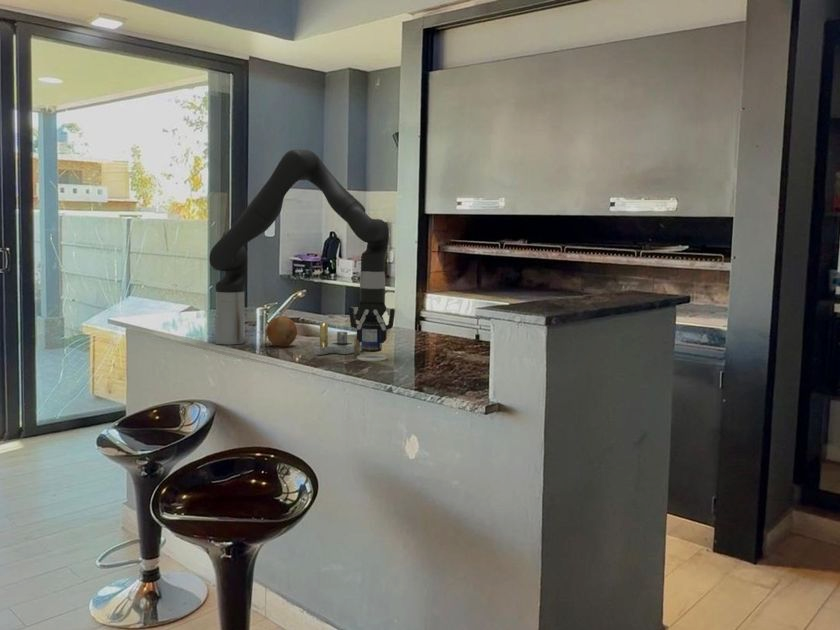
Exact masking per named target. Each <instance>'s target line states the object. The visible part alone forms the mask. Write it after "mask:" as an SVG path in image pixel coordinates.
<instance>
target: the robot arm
mask: <svg viewBox="0 0 840 630" xmlns="http://www.w3.org/2000/svg"><path fill="white" fill-rule="evenodd" d="M298 181H308V182H310V183H311V184H313V185H314V186H316V187H317V188H318V189H319V190H320V191H321V192H322V194H323V195H324V197H325V199H326V201H327V203H328V205H329V206H330V207H331V209H332V210H333V211H334V212H335V213H336V214H337V215H338V216H339V217H340V218H341V219H342V220H343V221H344V222H346V223H347V224H348V226H349V227H350V229H351V230H352V231H353V233H354V234H355V236H356V237H357V238H359V240H361V241H363V243H365V244H366V243H367V244H366V249H365V251H364V252H362V253H361V258H360V276H359V305H358V306H355V307H354V306H351V307H349V309H348V312H349V313H348V315H349V320H350V327H351V328H354V329H355V330H356V336H357V340H359V342H361V343H362V324H363V323H364V322H365V317H364V316H365V315H376V316H377V320H378V322H379V324H380V326H381V328H382V331H381V343H382V344H384V343H385V342H386V341H387V338H388V337H387V334H388V330H391V329H392V328H394V321H395V315H396V309H395V308H394V307H393V308H390V307H387V306H386V274H385V271H386V270H385V266H386V265H385V263H386V262H385V256H386V253H387V248H388V243H389V240H390V239H389V238H390V231H389V227H388V224H387V223H386V222H385V220H382V219H380V218H378V219H377V218H371V217H370V216H369V215H368V214H367V213H366V208H365V206H364V205H363V204H362V203H361V202H360V201H359V200H358V199H356V198H355V197H354V195H352V194H351V193H350V192H349V191H348V190H347V189H346V188H345V187H344V186H343V185H342V184H341V183H340V181H338V180H337V179H336V177H335V176H334V175H333V174H332V173H331V171H330V170H329V169H328V168H327V166H326V165H325V164H324V162H323V161H322V160H321V159H320V157H319V156H318V155H317V154H316V153H315V152H314V151H312V150H309V149H290V150H289V151H287V152H286V153H285V154H284V155H283V156H282V158H281V159H280V161H279V162H278V164H277V166H276V168H275V169H274V170H273V172H272V174H271V175H270V178H268V180H267V181H266V183H264V185H263V186H262V188H261V189H260V191H259V192H258V193H257V194H256V195H255V196H254V198H253V199H252V200H251V202H250V203H249V204H248V206H247V207H246V208H245V210H244V211H242V214H241V215H240V216H239V217H238V218H237V220H236V221H235V222H234V224H233V225H232V227H230V229H229V230H228V231H227V232H226V233H225V234H223V236H222V237H221V238H220V239H219V240H218V241H217V242H216V243H215V244H214V245H213V247H212V248H211V250H210V253H209V257H208V258H209V264H210V266H211V267H212V269H214V270H216V271H219V272H225V273H224V276H223V278H221V279H220V280H219V281H216V283H215V315H214V317H215V319H214V320H215V321H214V327H215V328H214V329H215V330H214V331H215V333H214V335H215V337H214V338H215V342H214V343H215V344H216V345H241V344H244V343H246V341H245V339H246V336H245V332H246V331H245V328H246V327H245V319H246V318H245V315H246V314H245V287H246V284H247V281H248V253H247V250H246V247H245V246H246V245H247V244H248V243H249V242H251V241H252V240H254V239H255V238H257V237H259V236H261V235H262V234H263V233H265V232H266V231H267V230H268V229H269V228H270V227H271V226H272V225H273V224H274V222H275V221H276V220H277V218H278V217H279V216H280V213H281V211H282V208H283V204H284V203H283V202H284V199H285V196H286V194H287V193H288V192H289V190H291V189H292V187H293V186H294V185H295V184H296V183H297V182H298ZM358 312H359V314H360V315H361V318H360V319H359V322H358V323H357V321H356V314H357V313H358ZM385 313H387V316H389V317H388V324H386V321H385V319H384V316H383V315H384V314H385Z"/></svg>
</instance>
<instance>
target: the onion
mask: <svg viewBox="0 0 840 630" xmlns="http://www.w3.org/2000/svg"><path fill="white" fill-rule="evenodd" d="M297 328H298V327H297V325H296V323H295V322H294V321H293V320H292V319H291V318H290V317H289V316H286V315H281V316H277V317H274V318H273V319H271V320H270V322H269V323H268V325H267V327H266V334H267V335H266V336H267V339H268V341H269V342H270V343H271V344H272V346H275V347H277V346H279V347H278V348H281V347H282V348H283V347H287V346H290V345H291V344H293V342H295V340H296V338H297V335H298V329H297Z"/></svg>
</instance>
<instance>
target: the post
mask: <svg viewBox="0 0 840 630" xmlns="http://www.w3.org/2000/svg"><path fill="white" fill-rule="evenodd" d="M336 338H337V339H336V340H337V345H347V341H348V332H347V331H336Z"/></svg>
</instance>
